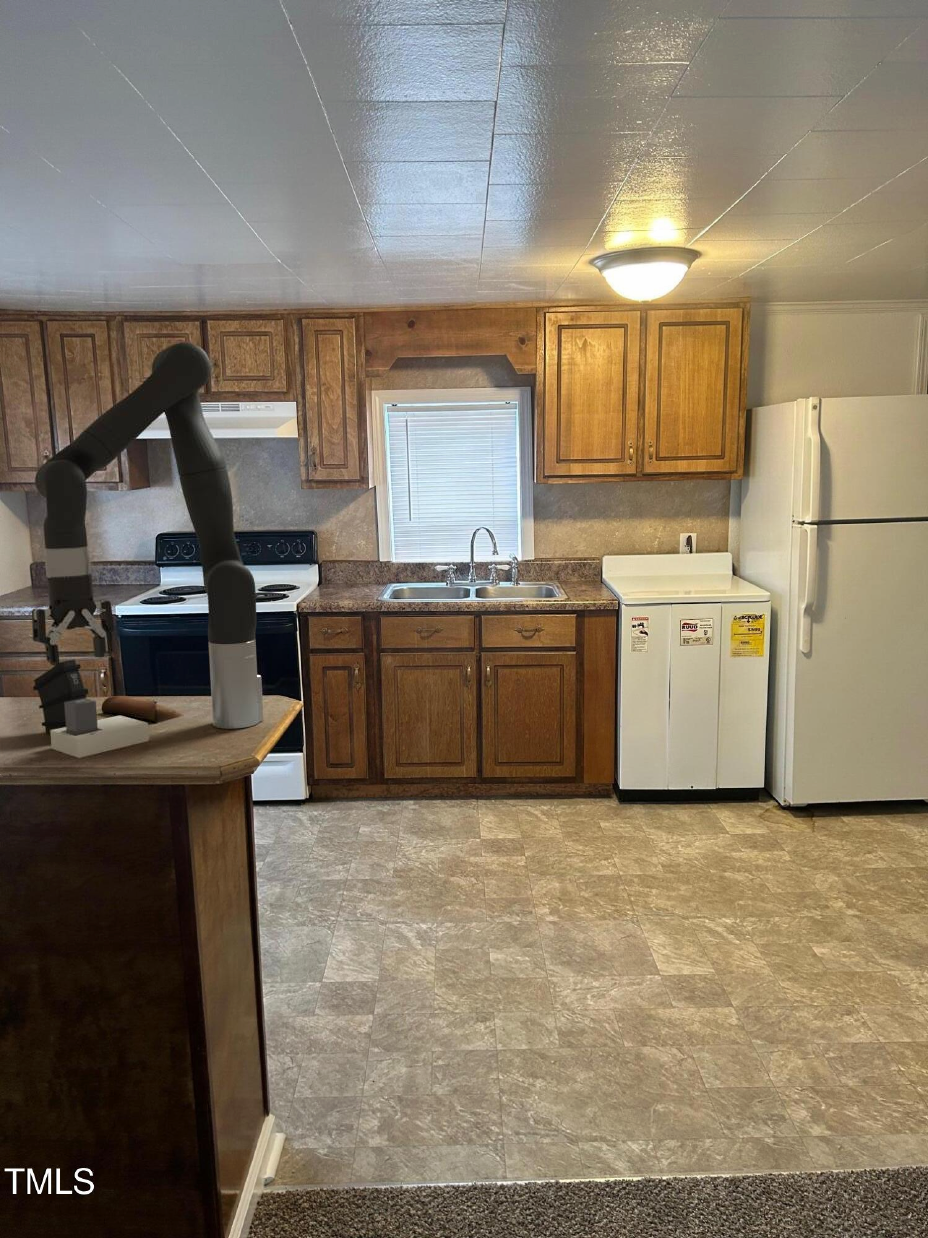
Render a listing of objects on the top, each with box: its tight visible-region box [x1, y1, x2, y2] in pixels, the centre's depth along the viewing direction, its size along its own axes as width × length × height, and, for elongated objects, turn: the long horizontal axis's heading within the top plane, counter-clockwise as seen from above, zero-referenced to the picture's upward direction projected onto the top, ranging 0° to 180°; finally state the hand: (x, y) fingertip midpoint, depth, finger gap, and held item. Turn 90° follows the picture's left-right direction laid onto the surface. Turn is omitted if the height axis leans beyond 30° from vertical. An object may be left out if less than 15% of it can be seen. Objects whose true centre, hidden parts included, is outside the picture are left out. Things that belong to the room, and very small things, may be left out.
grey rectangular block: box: [64, 697, 98, 736], centre depth 167 cm, size 4×4×9 cm
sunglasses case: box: [101, 695, 185, 724], centre depth 193 cm, size 18×7×7 cm, turn 57°
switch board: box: [50, 714, 150, 759], centre depth 170 cm, size 14×10×4 cm
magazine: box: [32, 659, 89, 735], centre depth 177 cm, size 4×13×15 cm, turn 58°
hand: (77, 660), depth 165 cm, fingers open, 8 cm apart
